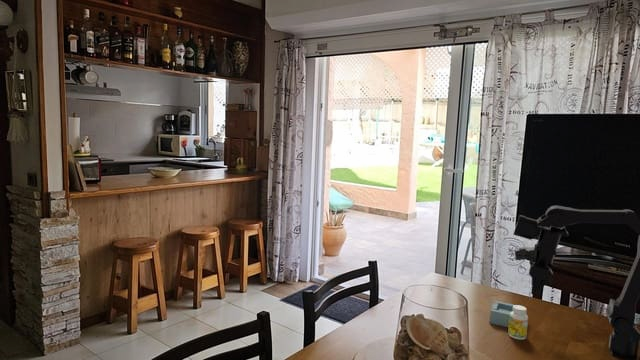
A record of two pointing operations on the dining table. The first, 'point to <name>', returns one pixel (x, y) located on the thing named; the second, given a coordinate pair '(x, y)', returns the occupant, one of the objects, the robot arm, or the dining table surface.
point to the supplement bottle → (518, 322)
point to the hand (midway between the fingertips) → (533, 289)
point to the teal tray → (501, 313)
